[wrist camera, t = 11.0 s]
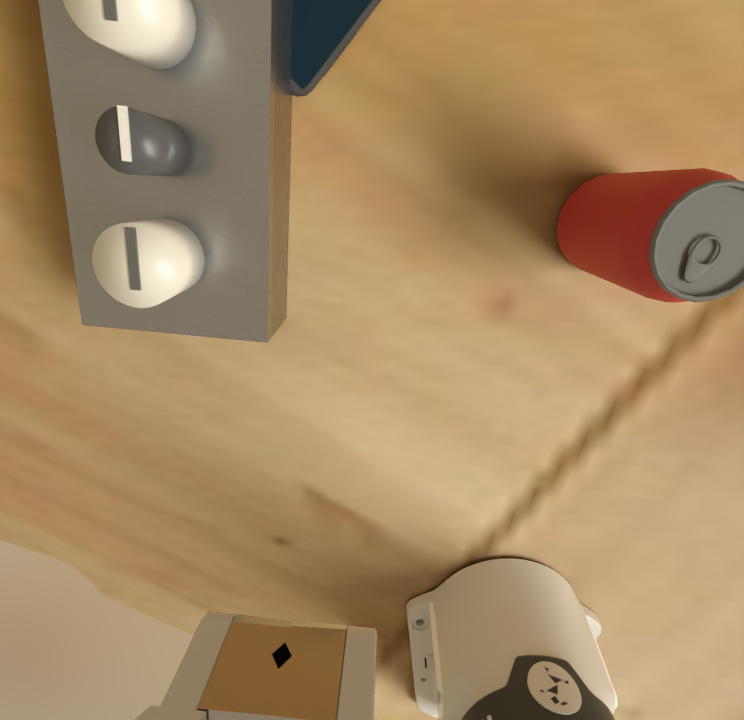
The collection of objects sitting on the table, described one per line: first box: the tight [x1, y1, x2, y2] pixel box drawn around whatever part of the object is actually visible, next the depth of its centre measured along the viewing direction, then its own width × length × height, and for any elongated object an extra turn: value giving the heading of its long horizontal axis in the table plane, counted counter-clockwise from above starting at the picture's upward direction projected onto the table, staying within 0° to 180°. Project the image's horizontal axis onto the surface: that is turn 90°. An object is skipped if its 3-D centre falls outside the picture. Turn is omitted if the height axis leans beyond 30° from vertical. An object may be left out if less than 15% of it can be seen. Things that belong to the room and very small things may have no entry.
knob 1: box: [63, 0, 196, 69], centre depth 24 cm, size 4×4×9 cm
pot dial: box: [95, 105, 190, 176], centre depth 24 cm, size 3×3×4 cm
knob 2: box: [92, 218, 205, 308], centre depth 28 cm, size 4×4×9 cm
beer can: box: [557, 168, 744, 302], centre depth 27 cm, size 7×7×12 cm
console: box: [38, 0, 293, 342], centre depth 29 cm, size 22×12×6 cm, turn 175°
